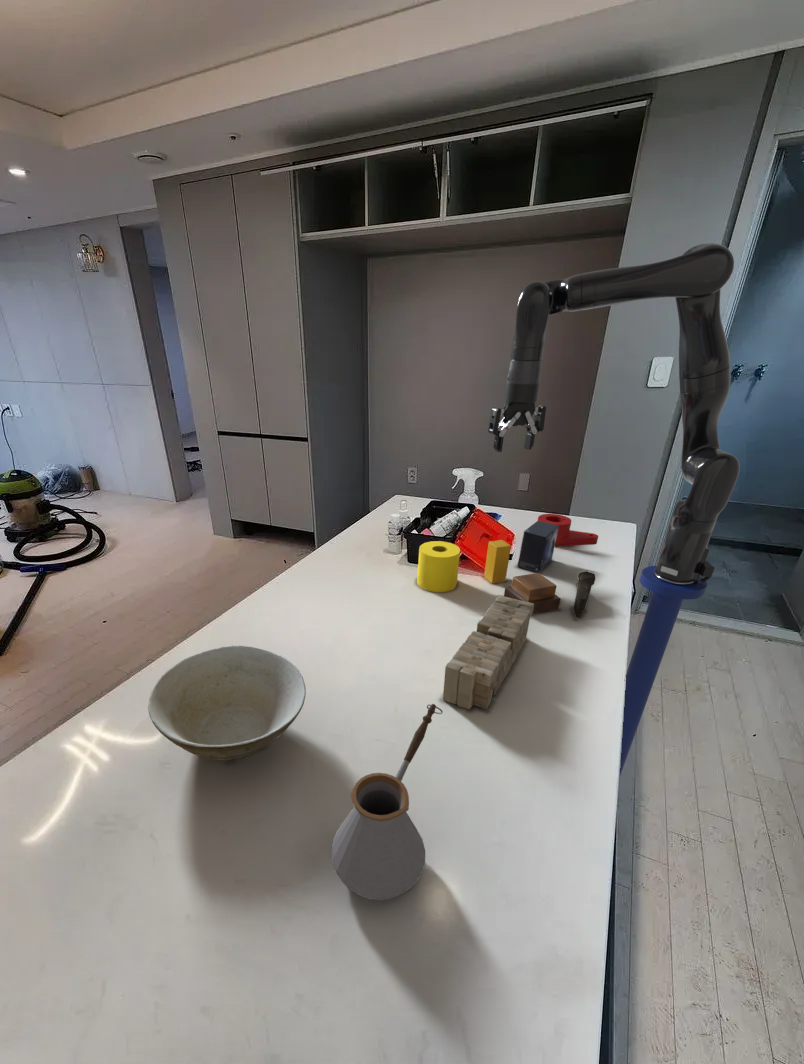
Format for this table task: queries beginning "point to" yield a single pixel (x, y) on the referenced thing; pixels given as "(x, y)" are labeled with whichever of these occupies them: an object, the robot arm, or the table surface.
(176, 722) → the bowl
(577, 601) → the hand tool
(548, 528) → the small box
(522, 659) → the table surface
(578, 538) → the lever
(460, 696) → the block tower
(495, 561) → the bar
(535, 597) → the brown stepped wooden block
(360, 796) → the coffee pot
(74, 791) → the table surface
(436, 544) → the yellow toilet paper roll
